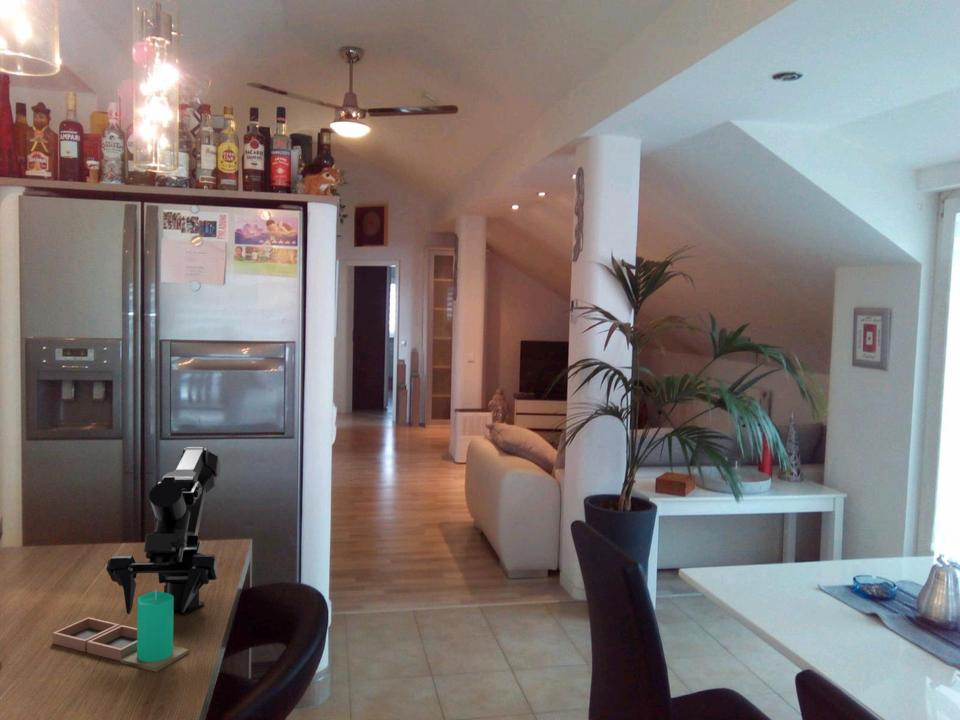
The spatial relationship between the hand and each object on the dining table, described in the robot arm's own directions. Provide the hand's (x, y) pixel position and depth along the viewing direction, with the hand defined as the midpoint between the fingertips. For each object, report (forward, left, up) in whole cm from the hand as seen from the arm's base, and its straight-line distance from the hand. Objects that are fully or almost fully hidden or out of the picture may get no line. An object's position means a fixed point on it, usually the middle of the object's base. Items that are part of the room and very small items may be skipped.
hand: (155, 612), depth 133 cm
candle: (0, 0, -8) cm, 8 cm away
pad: (0, 0, -9) cm, 9 cm away
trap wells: (+13, -1, -9) cm, 16 cm away
